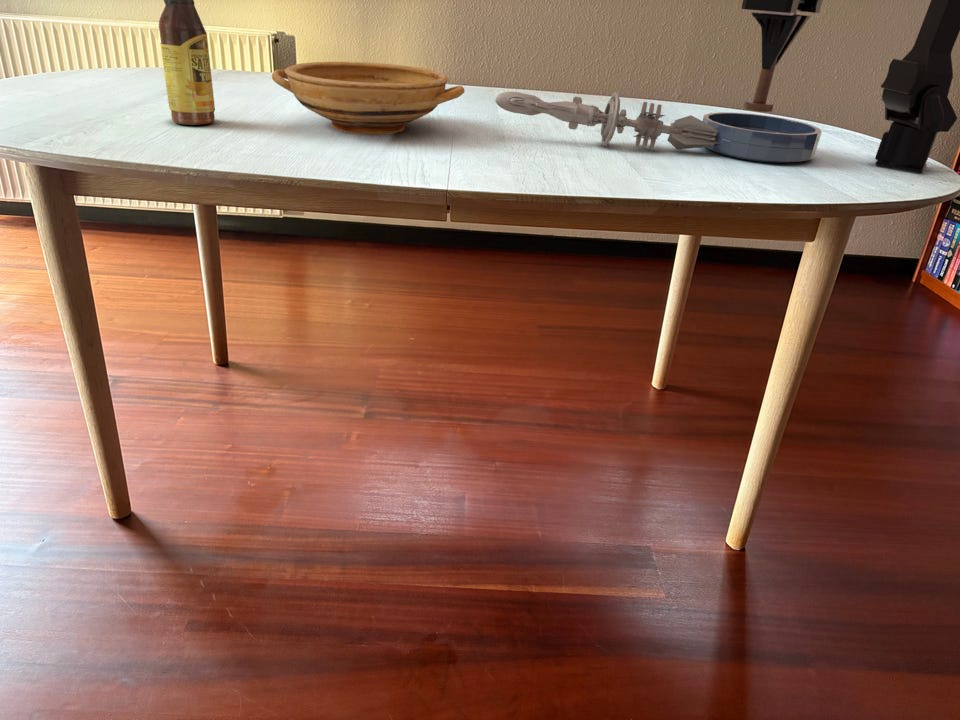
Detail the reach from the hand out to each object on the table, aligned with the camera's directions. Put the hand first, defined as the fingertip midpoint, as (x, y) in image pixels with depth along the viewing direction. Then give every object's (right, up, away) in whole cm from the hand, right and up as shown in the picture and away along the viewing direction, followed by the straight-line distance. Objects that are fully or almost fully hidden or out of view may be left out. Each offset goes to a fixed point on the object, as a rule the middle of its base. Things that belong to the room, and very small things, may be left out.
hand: (767, 68), depth 97 cm
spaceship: (-22, -9, +9) cm, 25 cm away
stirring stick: (0, -5, +3) cm, 6 cm away
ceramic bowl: (-58, -5, +9) cm, 59 cm away
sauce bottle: (-83, -6, +4) cm, 84 cm away
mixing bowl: (+3, -8, +12) cm, 15 cm away
